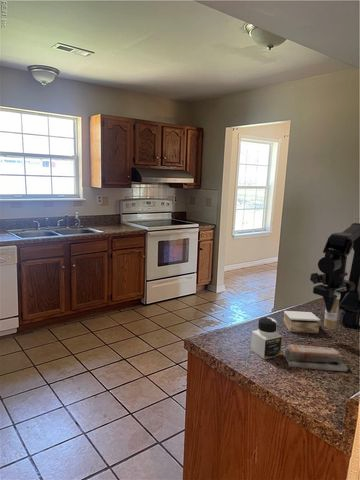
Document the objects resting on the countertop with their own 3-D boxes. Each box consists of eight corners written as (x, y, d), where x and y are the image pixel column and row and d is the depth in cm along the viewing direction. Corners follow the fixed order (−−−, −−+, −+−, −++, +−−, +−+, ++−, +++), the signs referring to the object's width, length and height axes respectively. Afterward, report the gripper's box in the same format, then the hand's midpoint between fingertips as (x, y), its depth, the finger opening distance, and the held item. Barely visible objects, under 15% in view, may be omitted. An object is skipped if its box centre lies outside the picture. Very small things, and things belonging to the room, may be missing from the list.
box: (309, 322, 144) (310, 313, 144) (318, 333, 134) (319, 323, 134) (283, 321, 145) (284, 312, 144) (290, 331, 135) (291, 322, 134)
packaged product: (290, 354, 108) (283, 339, 118) (289, 368, 109) (282, 352, 119) (349, 358, 107) (338, 343, 116) (347, 373, 107) (336, 357, 117)
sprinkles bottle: (321, 327, 127) (325, 292, 125) (325, 323, 131) (329, 289, 128) (334, 330, 124) (338, 295, 122) (338, 326, 128) (342, 292, 125)
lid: (310, 313, 144) (311, 312, 143) (320, 321, 133) (320, 319, 133) (284, 312, 144) (284, 310, 144) (291, 319, 134) (291, 318, 134)
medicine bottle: (264, 359, 113) (267, 325, 110) (250, 350, 119) (252, 317, 117) (280, 355, 116) (283, 321, 114) (266, 346, 122) (268, 314, 120)
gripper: (330, 261, 136) (325, 299, 138) (301, 267, 125) (297, 308, 127) (358, 267, 127) (353, 308, 129) (330, 274, 116) (325, 318, 118)
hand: (331, 310), depth 126 cm, fingers closed on sprinkles bottle, 4 cm apart
